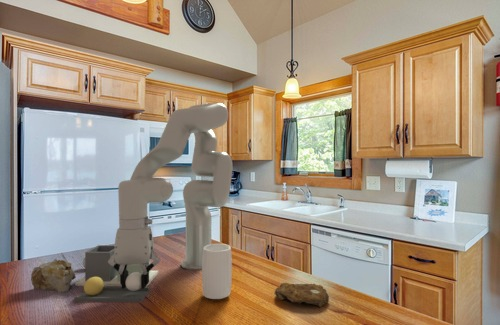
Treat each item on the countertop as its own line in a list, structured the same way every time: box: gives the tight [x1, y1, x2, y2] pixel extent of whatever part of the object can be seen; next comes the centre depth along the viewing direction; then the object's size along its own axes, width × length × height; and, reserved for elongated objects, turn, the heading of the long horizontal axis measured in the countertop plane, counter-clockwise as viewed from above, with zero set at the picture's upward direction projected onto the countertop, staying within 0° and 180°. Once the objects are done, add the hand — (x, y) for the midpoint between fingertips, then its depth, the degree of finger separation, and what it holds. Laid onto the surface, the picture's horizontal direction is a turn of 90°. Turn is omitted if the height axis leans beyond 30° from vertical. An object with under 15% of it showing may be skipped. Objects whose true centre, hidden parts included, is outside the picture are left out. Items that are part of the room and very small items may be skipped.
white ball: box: [125, 272, 142, 291], centre depth 84 cm, size 5×5×5 cm
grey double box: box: [74, 244, 159, 287], centre depth 95 cm, size 22×11×10 cm, turn 90°
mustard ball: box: [83, 277, 105, 296], centre depth 84 cm, size 5×5×5 cm
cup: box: [201, 243, 233, 300], centre depth 84 cm, size 8×8×14 cm
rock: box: [30, 258, 77, 293], centre depth 89 cm, size 12×7×10 cm, turn 73°
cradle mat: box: [70, 286, 152, 303], centre depth 84 cm, size 19×8×1 cm, turn 90°
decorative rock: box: [274, 282, 330, 308], centre depth 83 cm, size 11×4×15 cm
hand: (134, 285), depth 84 cm, fingers closed on white ball, 4 cm apart
